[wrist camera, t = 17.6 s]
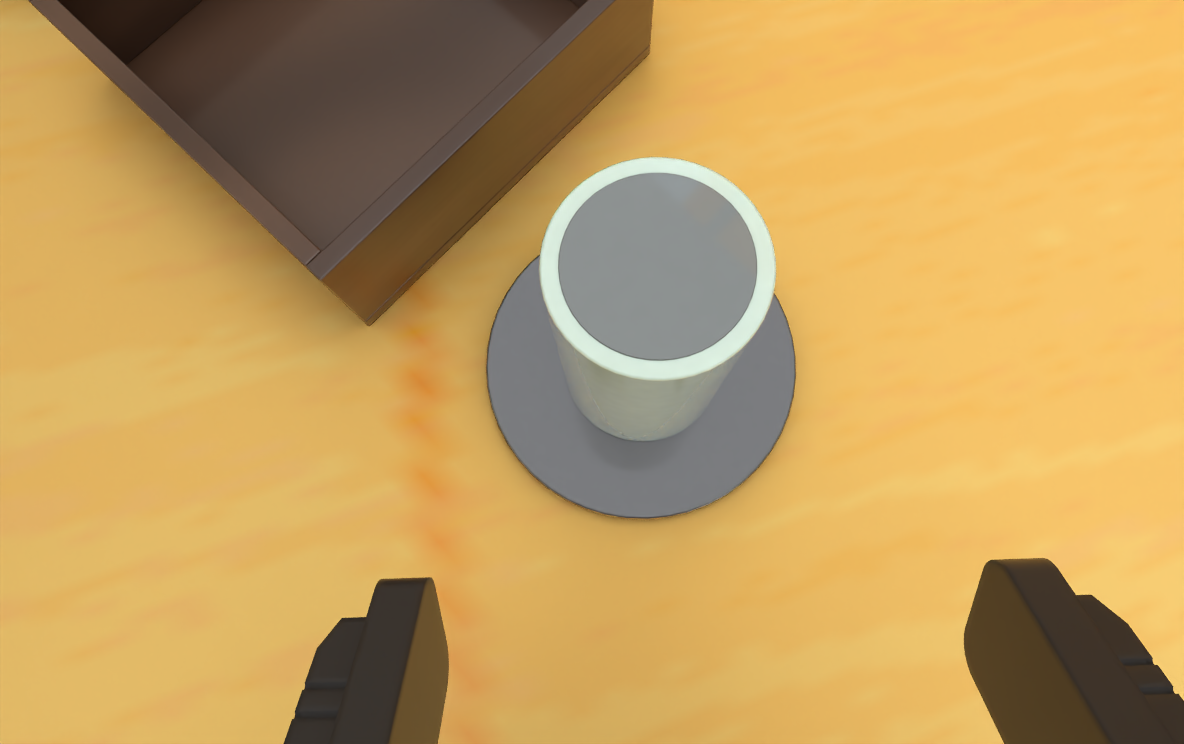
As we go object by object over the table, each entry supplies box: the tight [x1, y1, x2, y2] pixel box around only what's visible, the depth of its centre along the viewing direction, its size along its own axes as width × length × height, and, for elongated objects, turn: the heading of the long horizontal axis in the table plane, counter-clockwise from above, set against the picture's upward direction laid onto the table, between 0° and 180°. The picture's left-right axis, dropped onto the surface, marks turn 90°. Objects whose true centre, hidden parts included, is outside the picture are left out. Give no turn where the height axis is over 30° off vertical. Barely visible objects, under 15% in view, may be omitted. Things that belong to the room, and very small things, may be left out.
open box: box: [28, 0, 653, 326], centre depth 29 cm, size 15×15×5 cm
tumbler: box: [539, 157, 776, 441], centre depth 23 cm, size 6×6×10 cm
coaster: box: [486, 255, 796, 520], centre depth 28 cm, size 11×11×1 cm
